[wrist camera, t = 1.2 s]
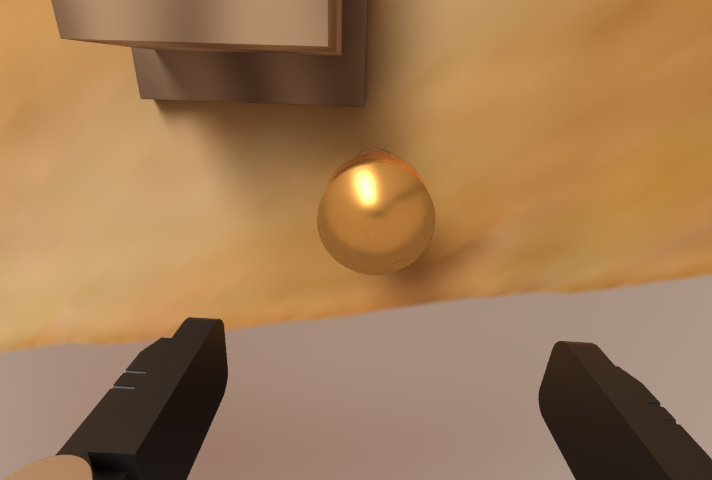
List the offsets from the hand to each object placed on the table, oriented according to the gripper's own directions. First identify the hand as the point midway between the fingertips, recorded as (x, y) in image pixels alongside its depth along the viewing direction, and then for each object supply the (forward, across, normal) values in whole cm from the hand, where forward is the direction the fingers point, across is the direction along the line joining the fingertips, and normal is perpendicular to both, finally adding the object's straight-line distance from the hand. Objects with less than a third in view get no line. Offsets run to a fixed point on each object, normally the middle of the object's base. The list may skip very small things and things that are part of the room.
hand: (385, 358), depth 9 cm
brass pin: (+21, 0, 0) cm, 21 cm away
